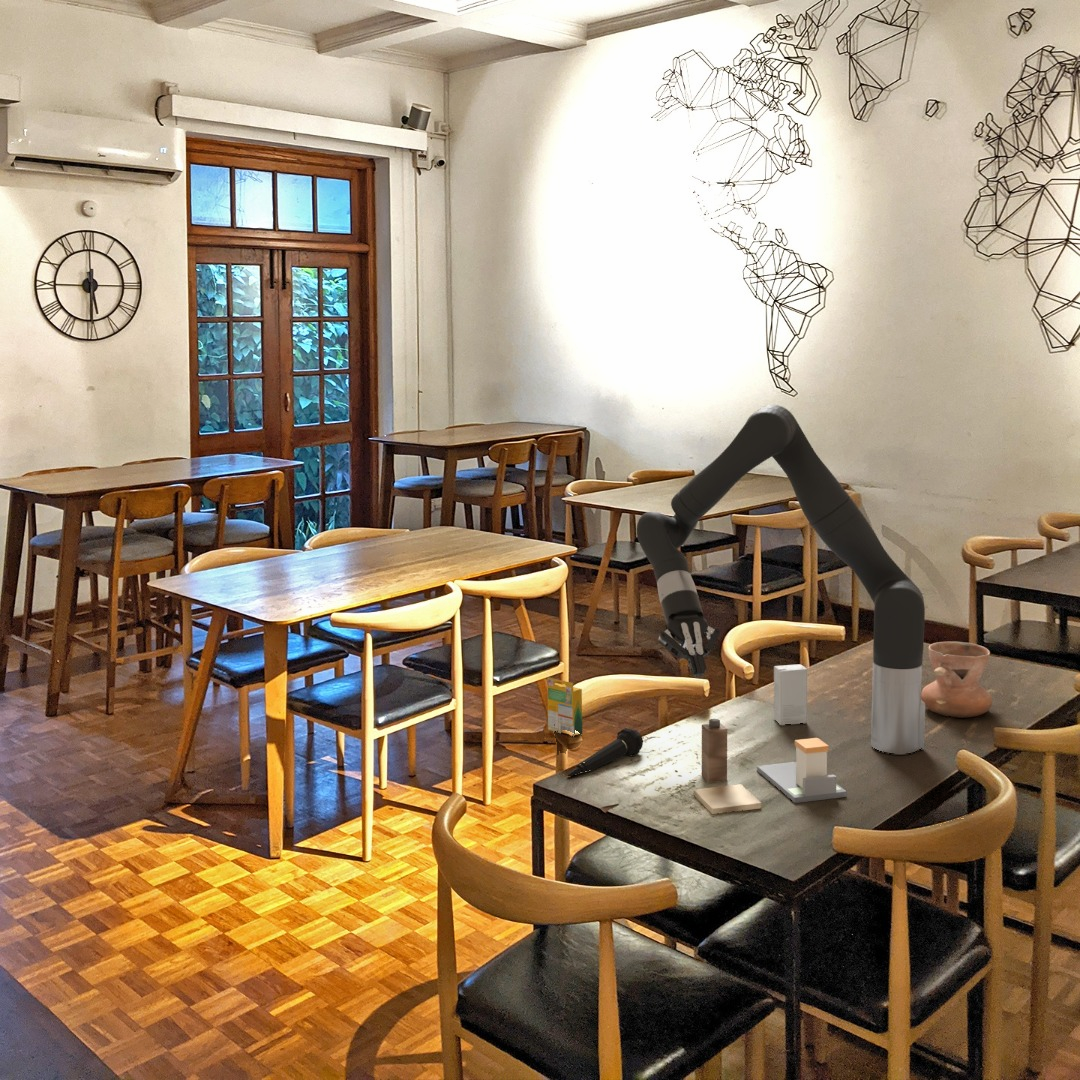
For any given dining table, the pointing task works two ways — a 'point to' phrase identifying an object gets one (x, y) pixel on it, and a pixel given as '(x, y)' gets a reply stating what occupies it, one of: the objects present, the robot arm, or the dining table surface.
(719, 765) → the pepper mill
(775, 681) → the skincare box
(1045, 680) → the dining table surface
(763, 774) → the panel
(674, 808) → the dining table surface
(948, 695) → the ceramic jug
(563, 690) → the food box
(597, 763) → the microphone
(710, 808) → the coaster
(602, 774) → the dining table surface
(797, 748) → the orange-capped white pillar
